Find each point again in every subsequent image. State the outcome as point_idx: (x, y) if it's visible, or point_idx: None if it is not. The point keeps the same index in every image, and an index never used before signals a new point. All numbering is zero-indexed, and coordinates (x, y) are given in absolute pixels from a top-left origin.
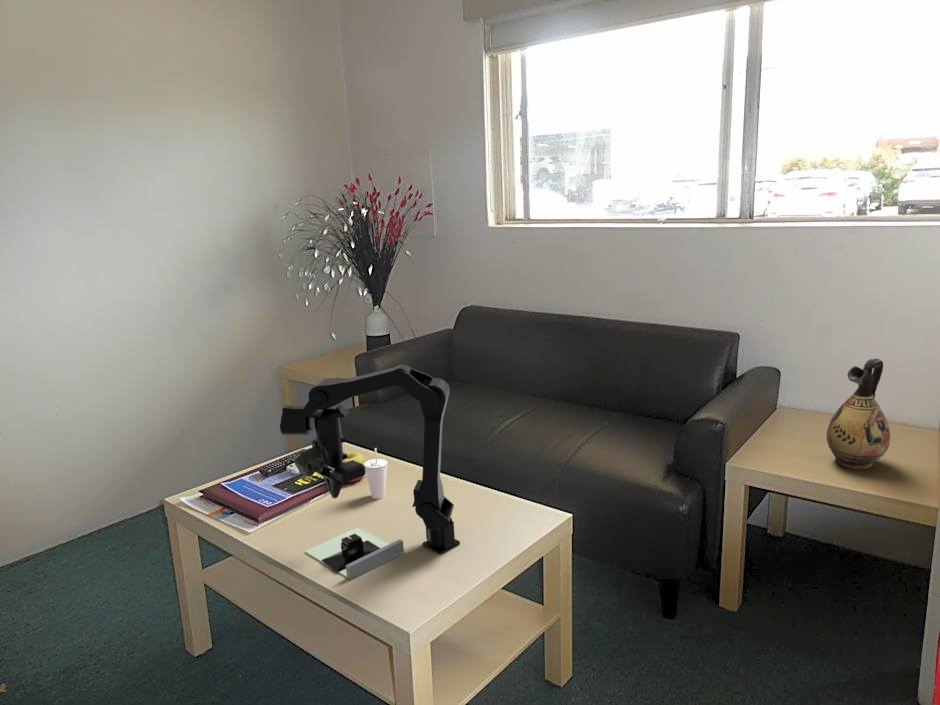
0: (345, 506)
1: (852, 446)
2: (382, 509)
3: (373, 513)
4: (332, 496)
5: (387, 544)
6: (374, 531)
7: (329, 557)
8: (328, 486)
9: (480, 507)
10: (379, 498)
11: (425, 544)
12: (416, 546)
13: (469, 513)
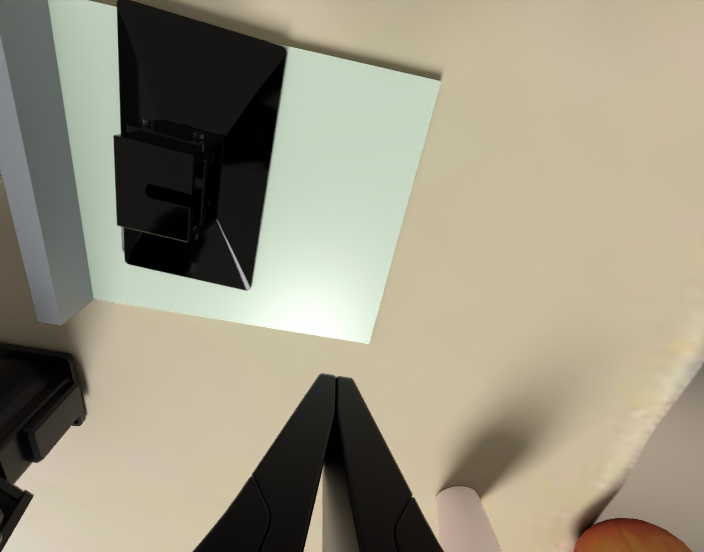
0: (522, 426)
1: None
2: None
3: (394, 429)
4: (340, 384)
5: (167, 305)
6: (297, 352)
7: (263, 85)
8: (367, 476)
9: (148, 544)
10: (442, 492)
11: (50, 358)
12: (85, 342)
13: (143, 518)
